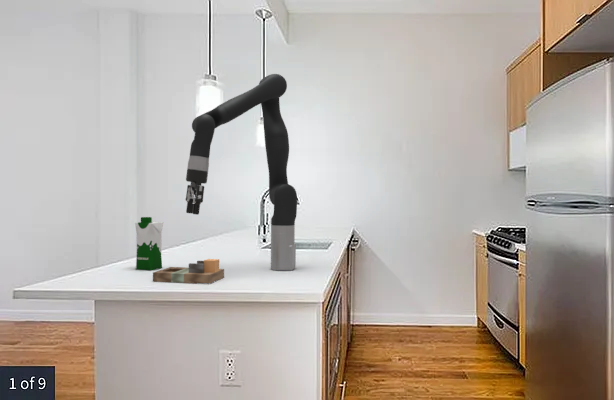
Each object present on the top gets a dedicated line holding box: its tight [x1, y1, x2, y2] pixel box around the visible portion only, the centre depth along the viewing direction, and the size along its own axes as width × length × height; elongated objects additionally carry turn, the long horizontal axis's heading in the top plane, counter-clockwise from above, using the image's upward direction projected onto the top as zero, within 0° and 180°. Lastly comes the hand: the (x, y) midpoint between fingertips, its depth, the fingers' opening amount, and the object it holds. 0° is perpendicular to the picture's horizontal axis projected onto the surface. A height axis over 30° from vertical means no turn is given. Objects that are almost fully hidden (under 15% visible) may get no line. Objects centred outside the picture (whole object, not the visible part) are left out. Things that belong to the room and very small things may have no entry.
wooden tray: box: [152, 260, 225, 284], centre depth 191 cm, size 20×14×6 cm
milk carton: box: [134, 216, 164, 271], centre depth 215 cm, size 9×9×20 cm
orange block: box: [203, 258, 220, 273], centre depth 189 cm, size 4×4×4 cm
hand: (192, 213), depth 202 cm, fingers open, 8 cm apart
